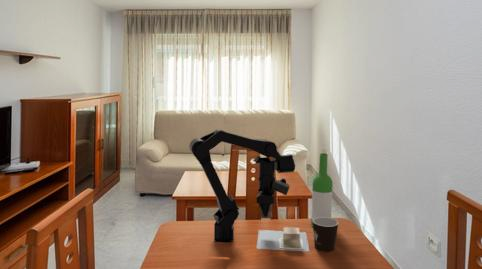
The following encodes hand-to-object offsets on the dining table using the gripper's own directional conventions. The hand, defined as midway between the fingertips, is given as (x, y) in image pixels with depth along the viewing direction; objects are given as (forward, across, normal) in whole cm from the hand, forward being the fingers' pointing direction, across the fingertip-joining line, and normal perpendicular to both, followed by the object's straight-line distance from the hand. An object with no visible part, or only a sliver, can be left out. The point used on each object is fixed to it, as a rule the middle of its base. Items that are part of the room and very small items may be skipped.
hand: (265, 214), depth 133 cm
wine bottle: (+8, +10, -22) cm, 25 cm away
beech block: (+8, -8, -9) cm, 14 cm away
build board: (+8, -5, -6) cm, 11 cm away
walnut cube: (+1, 0, 0) cm, 1 cm away
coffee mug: (+8, -8, -21) cm, 24 cm away
